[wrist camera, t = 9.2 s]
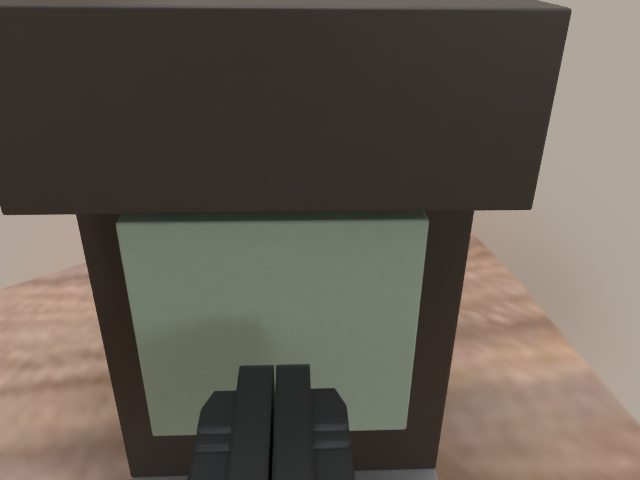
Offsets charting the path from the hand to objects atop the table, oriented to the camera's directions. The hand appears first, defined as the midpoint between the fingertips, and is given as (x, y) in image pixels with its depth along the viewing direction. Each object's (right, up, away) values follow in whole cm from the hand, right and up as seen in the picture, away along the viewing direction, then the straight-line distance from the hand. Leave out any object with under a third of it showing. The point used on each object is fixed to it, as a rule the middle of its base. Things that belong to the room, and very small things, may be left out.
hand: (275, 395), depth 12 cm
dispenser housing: (0, -5, +10) cm, 11 cm away
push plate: (0, -2, +4) cm, 4 cm away
